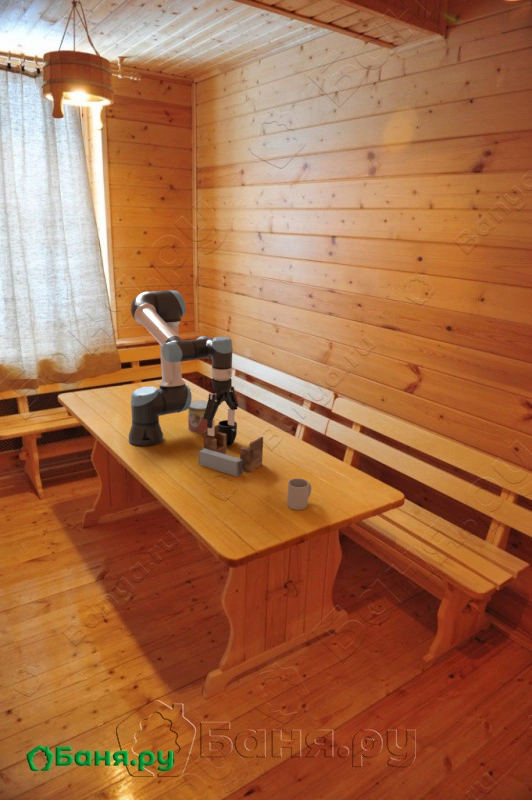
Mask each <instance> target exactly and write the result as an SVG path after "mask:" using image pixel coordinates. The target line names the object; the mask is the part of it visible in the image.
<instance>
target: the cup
mask: <svg viewBox="0 0 532 800" xmlns="http://www.w3.org/2000/svg"><path fill="white" fill-rule="evenodd" d="M287 483H288V484H287V496H286V497H287V498H286V499H287V501H286V503H287V504H286V505H287V507H288V508H289V509H291V510H293V509H295V510H294V511H301V510H300V509H303V510H305V509H306V508H307V507H308V500H309V498H310V496H311V493H312V485H311V483H310V482H309V481H308V480H306V479H304V478H297V477H296V478H291V479H289V480H288V481H287ZM304 508H305V509H304Z"/></svg>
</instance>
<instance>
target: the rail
mask: <svg viewBox="0 0 532 800" xmlns="http://www.w3.org/2000/svg"><path fill="white" fill-rule="evenodd" d="M198 465H199V466H203V467H205V468H209V469H212V470H216V471H218V472H221V473H224V474H228V475H231V476H234V477H239V476H241V475H242V474H243V470H242V468H243V459H240V457H236V456H232V455H229V454H227V453H226V454H222V453H219V452H215V451H212V450H209V449H205V448H204V447H203V448H201V449H200V450H198Z"/></svg>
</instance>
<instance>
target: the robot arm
mask: <svg viewBox="0 0 532 800" xmlns="http://www.w3.org/2000/svg"><path fill="white" fill-rule="evenodd" d="M130 304H131V305H130V313H131V316H132V318H133V320H134V321H135V322H136V323H137V324H138V325H141V326H143V327H144V328H145V330H147V332H149V334H150V335H151V336H152V337H153V338H154V340H155V341H156V342H157V343H158V344H159V352H160V353H159V354H160V355H159V356H160V366H161V376H162V377H161V381H160V382H159V384H158V385H159V389H158V388H157V387H156V386H153V385H151V386H142V387H139V388H136V389H135V390H134V391H133V392H132V393H131V394H130V395H131V397H130V408H131V427H130V430H129V433H128V442H129V444H131V445H133V446H138V447H152V446H155V445H159V444H160V443H162V442H164V432H163V431H162V427H161V425H160V416H165V415H171V414H177V413H178V414H179V413H181V412H185V411H187V410H188V408H189V407H190V404H191V402H192V398H193V397H192V391H191V388H190V386H189V385H187V383H186V381H185V380H183V378H182V377H183V376H182V365H181V364H182V363H181V362H183V361H192V360H199V359H210V360H211V388H212V389H213V390H214V391H213V393H209V394H208V399H207V401H208V403H207V406H206V410H205V413H204V417H203V419H206V420H207V428H208V435H210V436H214V434H215V426H216V424H215V421H216V420H215V419H214V418H215V416H216V414H217V412H218V409H219V406H221V404H222V403H224V402H225V403H226V405H227V407H228V409H227V420H228V425H232V426H234V421H235V418H236V417H235V416H236V415H235V413H236V411H237V410H238V407H239V402H238V399H237V395H236V392H235V386H233V385H232V383H233V382H232V381H233V379H232V377H233V376H232V374H233V370H232V369H233V368H232V367H233V340H232V338H231V337H227V336H216V337H213V338H212V337H210V336H205V335H201V336H199V337H197V338H195V339H186V340H183V339H182V338H181V337H180V336H179V324H181V323H182V317H184V316H185V315H186V311H187V309H186V307H187V306H186V302H185V299H184V297H183V296H182V294H181V293H180V292H179V291H178V290H169V289H168V290H157V291H155V290H154V291H144V292H140V293H139V294H137V295H135V297H134V299H133V300H132V302H131V303H130Z"/></svg>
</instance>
